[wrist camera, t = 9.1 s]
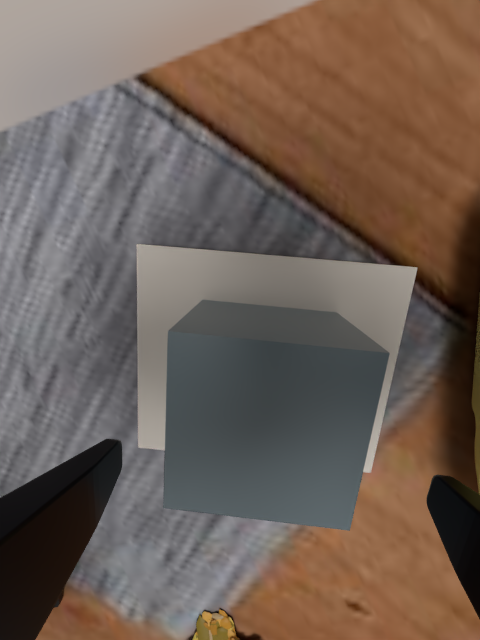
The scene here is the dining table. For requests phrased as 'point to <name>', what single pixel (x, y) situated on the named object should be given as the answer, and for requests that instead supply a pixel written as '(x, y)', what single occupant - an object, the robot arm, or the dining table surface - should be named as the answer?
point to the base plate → (259, 289)
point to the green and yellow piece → (215, 627)
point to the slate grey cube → (269, 413)
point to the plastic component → (477, 399)
